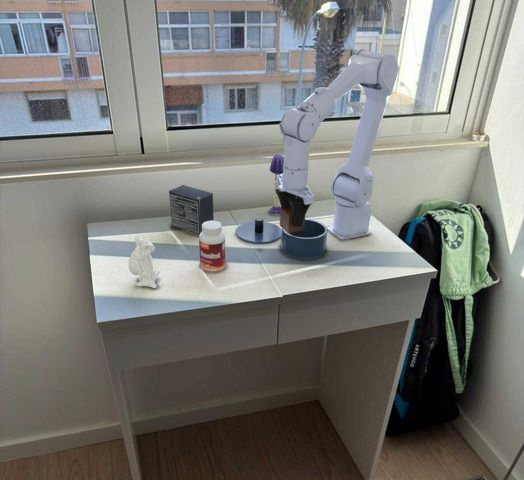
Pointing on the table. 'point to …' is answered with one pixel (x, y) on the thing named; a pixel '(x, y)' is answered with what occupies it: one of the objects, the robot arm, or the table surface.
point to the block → (289, 221)
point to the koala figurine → (143, 263)
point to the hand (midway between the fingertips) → (292, 221)
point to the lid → (258, 231)
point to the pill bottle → (212, 246)
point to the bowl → (305, 240)
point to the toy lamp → (278, 170)
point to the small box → (190, 208)
